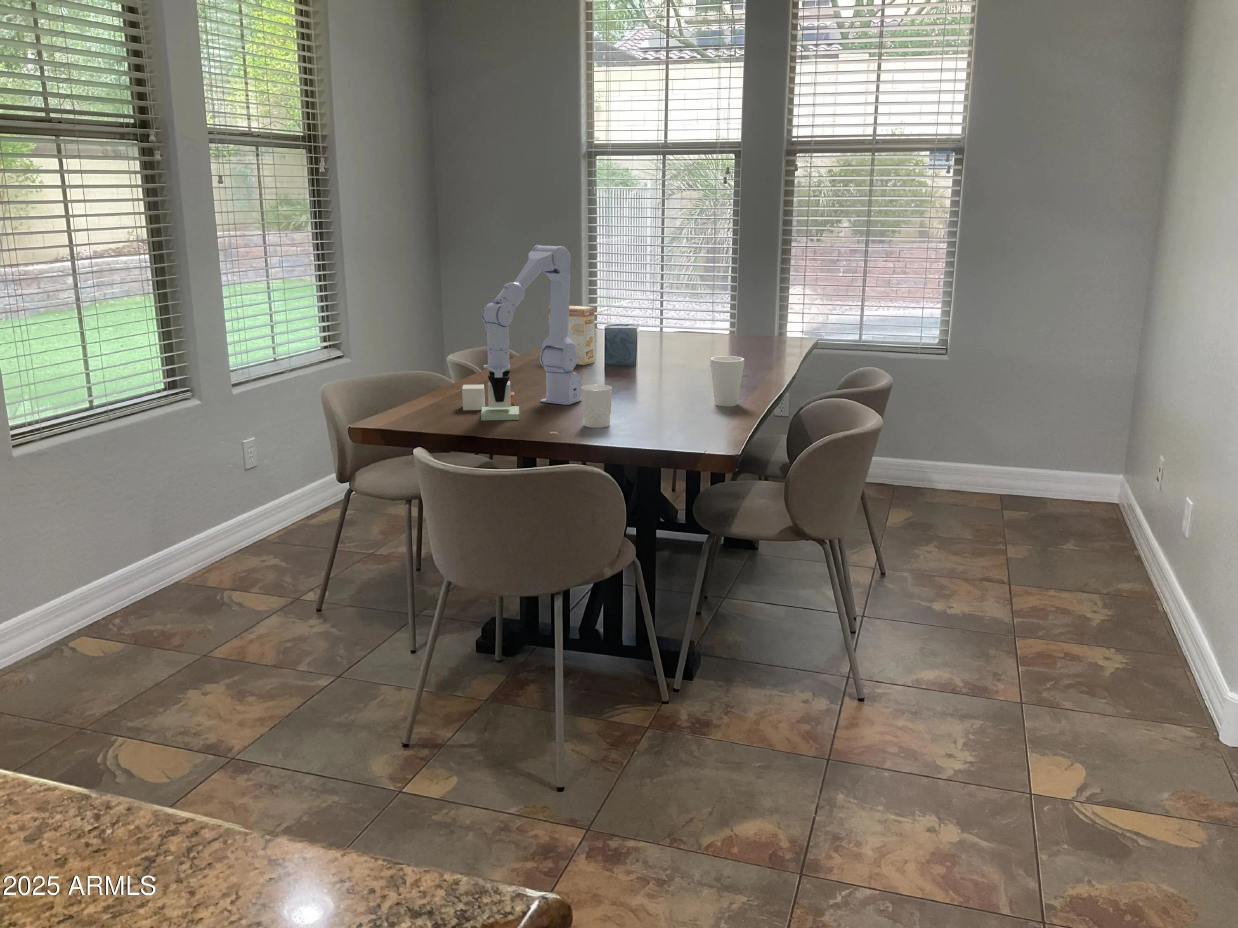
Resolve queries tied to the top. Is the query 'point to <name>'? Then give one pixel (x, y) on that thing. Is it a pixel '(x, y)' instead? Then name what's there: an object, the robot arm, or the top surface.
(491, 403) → the cream matte cube
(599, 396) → the white cup
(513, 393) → the orange brown block
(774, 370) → the top surface
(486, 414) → the coaster
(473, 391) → the cover
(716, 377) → the foam cup
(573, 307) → the coffeecake box
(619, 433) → the top surface
